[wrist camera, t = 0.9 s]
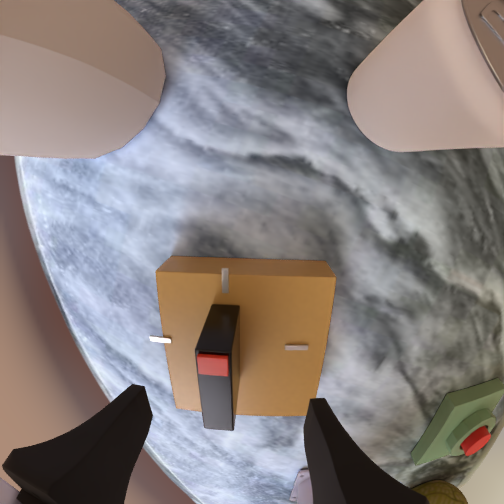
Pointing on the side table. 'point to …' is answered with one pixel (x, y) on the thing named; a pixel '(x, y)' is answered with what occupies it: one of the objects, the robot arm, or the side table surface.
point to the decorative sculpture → (441, 493)
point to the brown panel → (250, 327)
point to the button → (475, 440)
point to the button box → (458, 421)
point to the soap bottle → (74, 78)
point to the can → (435, 80)
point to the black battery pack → (219, 366)
